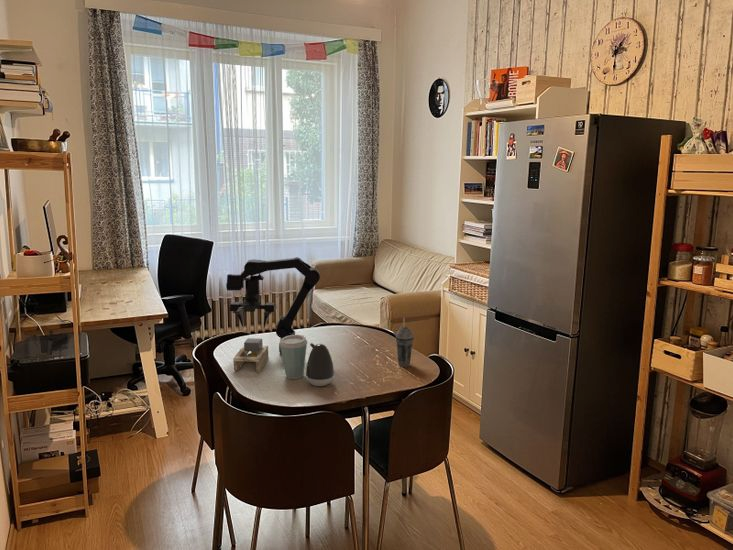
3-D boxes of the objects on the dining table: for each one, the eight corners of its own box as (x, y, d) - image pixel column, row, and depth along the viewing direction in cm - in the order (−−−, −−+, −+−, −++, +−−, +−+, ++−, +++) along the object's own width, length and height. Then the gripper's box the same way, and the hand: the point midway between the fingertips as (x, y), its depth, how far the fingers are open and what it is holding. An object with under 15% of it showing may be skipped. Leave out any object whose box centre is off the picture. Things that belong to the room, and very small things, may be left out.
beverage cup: (415, 363, 233) (416, 315, 229) (409, 369, 227) (410, 320, 223) (399, 360, 236) (399, 313, 232) (392, 366, 230) (392, 317, 226)
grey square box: (262, 355, 237) (262, 338, 235) (259, 360, 231) (258, 343, 229) (248, 355, 237) (247, 338, 236) (244, 360, 231) (243, 342, 230)
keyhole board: (268, 358, 238) (268, 345, 237) (259, 372, 223) (258, 358, 222) (244, 357, 239) (244, 345, 238) (233, 371, 223) (233, 358, 222)
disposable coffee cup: (300, 382, 212) (299, 343, 209) (274, 378, 216) (273, 340, 213) (312, 373, 222) (312, 335, 219) (287, 369, 226) (286, 332, 223)
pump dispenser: (322, 376, 219) (321, 338, 216) (339, 384, 211) (339, 344, 208) (300, 383, 212) (299, 343, 209) (318, 391, 204) (317, 350, 202)
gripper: (224, 294, 231) (226, 331, 234) (270, 295, 230) (271, 332, 233) (232, 288, 242) (233, 324, 245) (276, 289, 241) (277, 325, 244)
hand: (253, 326), depth 241 cm, fingers open, 9 cm apart
